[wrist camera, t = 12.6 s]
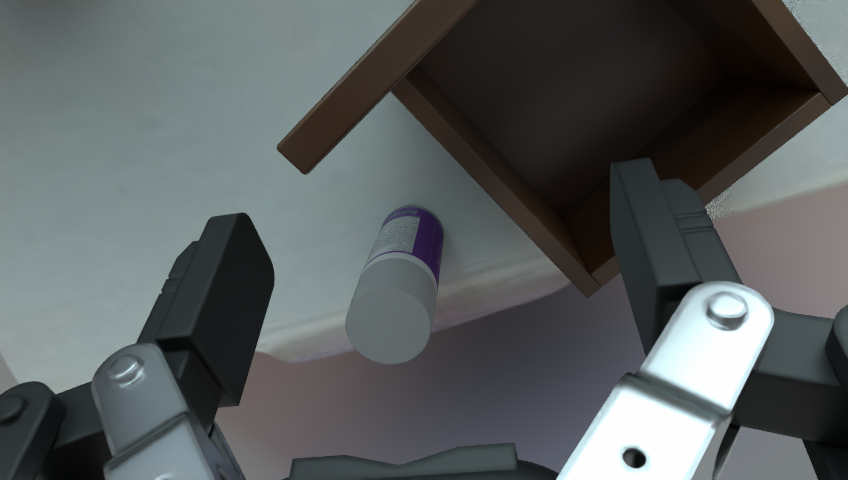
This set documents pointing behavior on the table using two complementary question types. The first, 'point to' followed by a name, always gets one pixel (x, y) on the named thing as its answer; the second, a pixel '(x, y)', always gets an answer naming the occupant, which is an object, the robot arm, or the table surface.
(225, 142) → the table surface
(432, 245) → the container
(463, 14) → the lid
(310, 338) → the table surface
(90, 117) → the table surface
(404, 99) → the chest
